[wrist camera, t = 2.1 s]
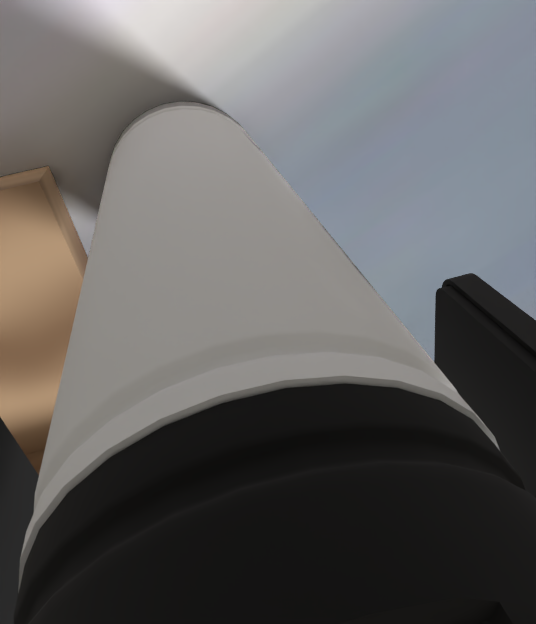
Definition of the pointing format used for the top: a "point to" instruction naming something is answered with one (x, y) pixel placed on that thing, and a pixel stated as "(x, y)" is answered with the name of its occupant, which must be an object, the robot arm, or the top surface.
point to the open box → (35, 303)
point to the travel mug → (256, 421)
